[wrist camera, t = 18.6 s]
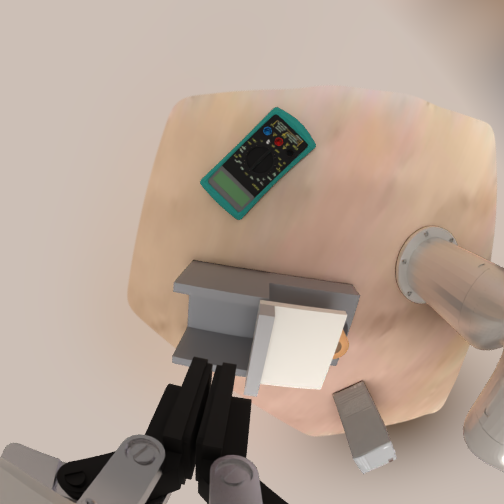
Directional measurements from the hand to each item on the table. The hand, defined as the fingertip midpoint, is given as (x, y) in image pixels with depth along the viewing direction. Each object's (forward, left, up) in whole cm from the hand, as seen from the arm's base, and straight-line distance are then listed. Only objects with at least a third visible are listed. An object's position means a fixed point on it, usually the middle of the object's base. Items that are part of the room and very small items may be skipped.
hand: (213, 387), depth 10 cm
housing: (-3, +11, -29) cm, 31 cm away
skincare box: (-24, +28, -29) cm, 47 cm away
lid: (-7, +11, -20) cm, 24 cm away
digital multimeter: (+1, -10, -30) cm, 31 cm away
